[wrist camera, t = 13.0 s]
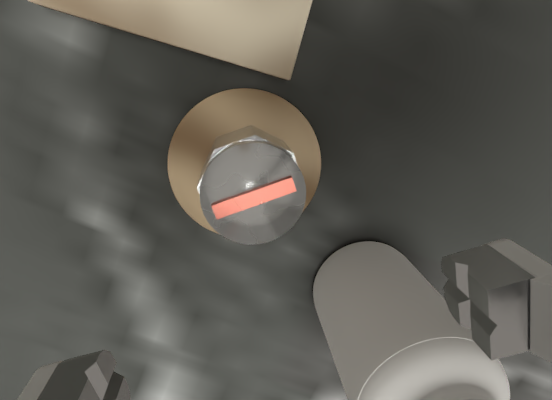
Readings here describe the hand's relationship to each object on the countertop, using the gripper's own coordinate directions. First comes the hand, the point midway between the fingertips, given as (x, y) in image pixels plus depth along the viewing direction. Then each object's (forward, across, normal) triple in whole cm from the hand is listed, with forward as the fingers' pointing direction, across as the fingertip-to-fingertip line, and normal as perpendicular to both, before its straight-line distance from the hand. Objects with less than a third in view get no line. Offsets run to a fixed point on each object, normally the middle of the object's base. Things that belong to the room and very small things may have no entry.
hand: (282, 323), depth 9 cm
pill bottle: (+17, +6, -12) cm, 22 cm away
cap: (+16, 0, -1) cm, 16 cm away
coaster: (+17, 0, 0) cm, 17 cm away
